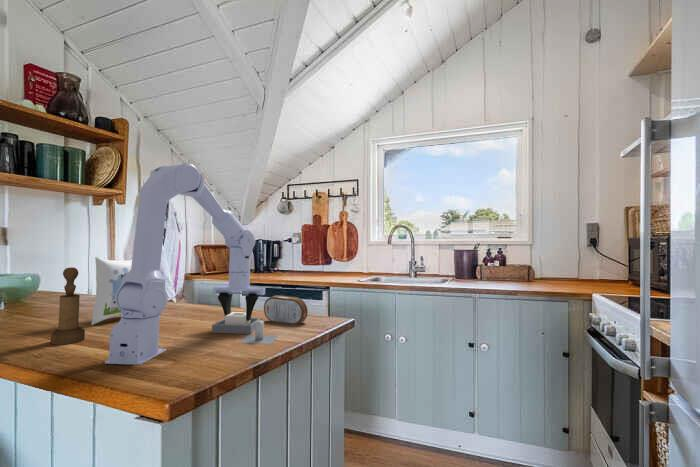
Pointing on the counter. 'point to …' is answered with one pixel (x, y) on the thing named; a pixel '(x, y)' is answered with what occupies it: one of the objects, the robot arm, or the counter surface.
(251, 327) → the tray
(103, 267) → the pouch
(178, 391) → the counter surface
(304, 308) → the tin
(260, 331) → the grey plate with post
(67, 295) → the brown tall wooden piece
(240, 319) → the ring
